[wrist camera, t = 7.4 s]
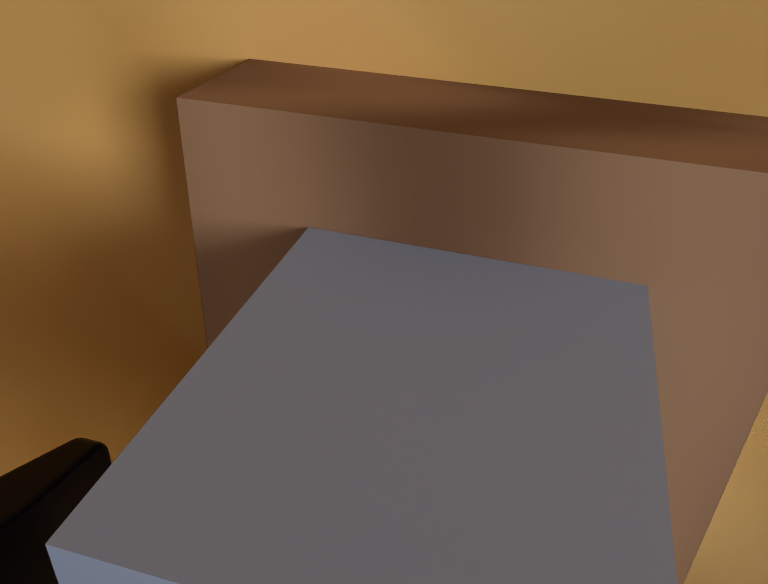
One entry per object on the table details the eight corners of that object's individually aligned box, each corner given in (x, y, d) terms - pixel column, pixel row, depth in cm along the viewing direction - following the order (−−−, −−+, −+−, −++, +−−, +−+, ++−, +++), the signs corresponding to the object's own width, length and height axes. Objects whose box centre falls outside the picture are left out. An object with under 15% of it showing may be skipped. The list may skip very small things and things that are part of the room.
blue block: (647, 286, 9) (691, 735, 5) (576, 523, 12) (556, 967, 7) (308, 227, 10) (45, 544, 6) (311, 459, 13) (136, 811, 8)
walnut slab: (799, 112, 11) (858, 184, 8) (655, 506, 15) (664, 627, 13) (262, 53, 12) (176, 97, 10) (282, 420, 17) (228, 512, 15)
